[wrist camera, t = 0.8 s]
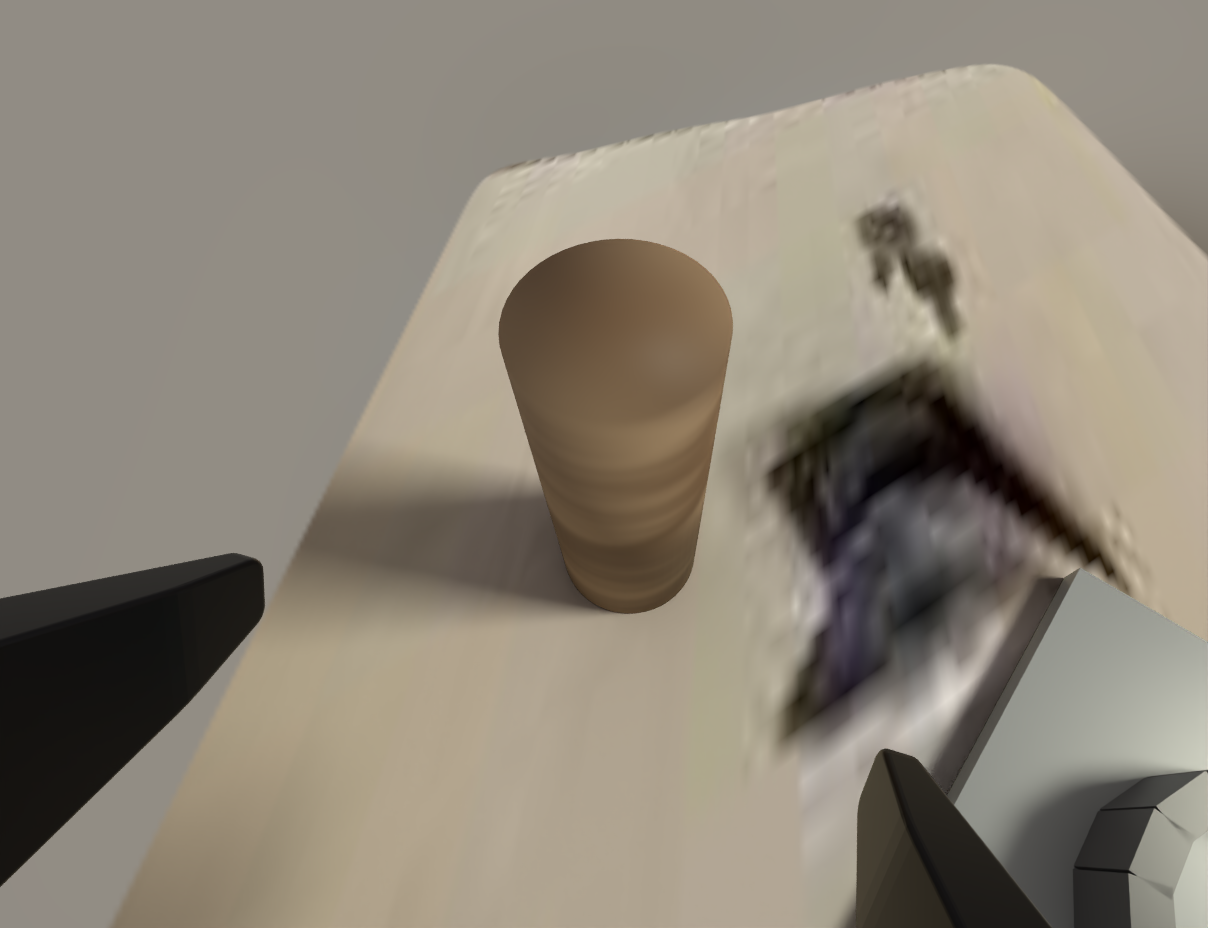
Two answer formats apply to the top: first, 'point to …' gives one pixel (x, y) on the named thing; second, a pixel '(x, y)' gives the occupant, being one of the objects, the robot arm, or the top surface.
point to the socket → (1099, 766)
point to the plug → (620, 408)
